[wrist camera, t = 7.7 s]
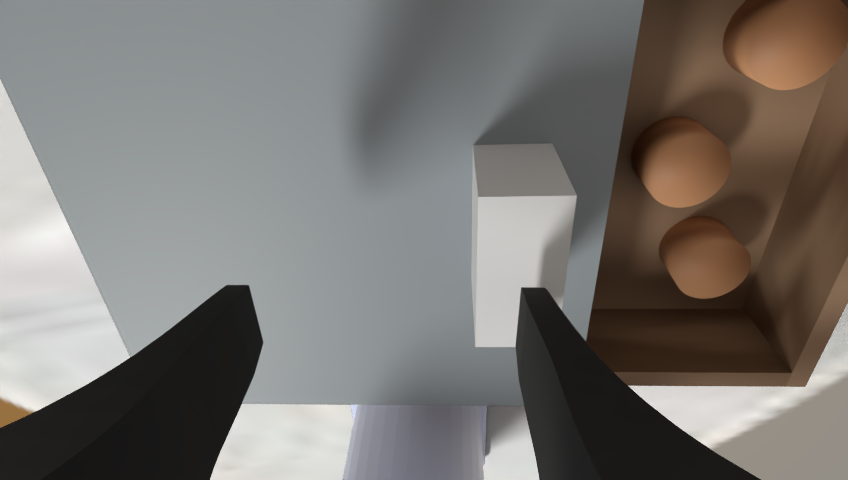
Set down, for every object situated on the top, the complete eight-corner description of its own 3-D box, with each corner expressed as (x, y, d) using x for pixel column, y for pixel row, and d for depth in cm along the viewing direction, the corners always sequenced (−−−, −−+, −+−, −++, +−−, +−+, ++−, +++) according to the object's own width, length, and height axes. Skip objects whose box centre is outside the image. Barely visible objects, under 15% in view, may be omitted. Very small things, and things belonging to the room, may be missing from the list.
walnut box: (746, 310, 26) (805, 386, 22) (394, 311, 27) (383, 383, 23) (910, -124, 16) (1071, -141, 12) (357, -97, 17) (327, -104, 13)
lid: (570, 390, 22) (594, 484, 18) (161, 387, 23) (106, 475, 20) (653, -131, 13) (740, -154, 9) (-51, -94, 14) (-241, -102, 10)
